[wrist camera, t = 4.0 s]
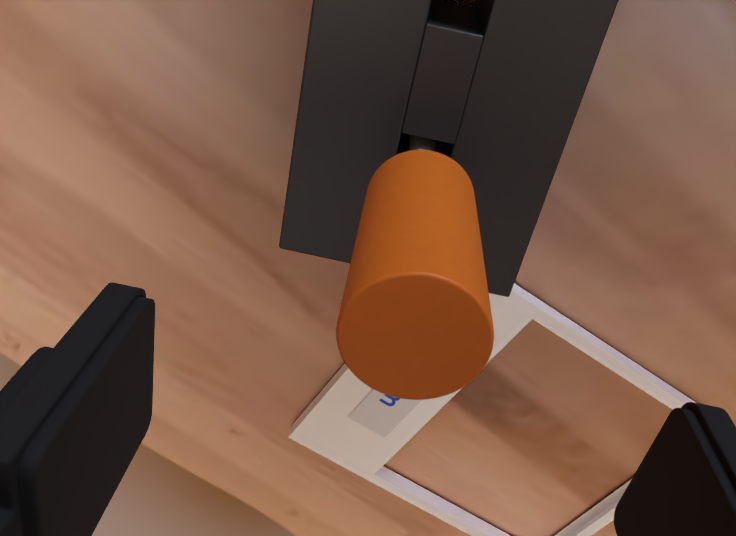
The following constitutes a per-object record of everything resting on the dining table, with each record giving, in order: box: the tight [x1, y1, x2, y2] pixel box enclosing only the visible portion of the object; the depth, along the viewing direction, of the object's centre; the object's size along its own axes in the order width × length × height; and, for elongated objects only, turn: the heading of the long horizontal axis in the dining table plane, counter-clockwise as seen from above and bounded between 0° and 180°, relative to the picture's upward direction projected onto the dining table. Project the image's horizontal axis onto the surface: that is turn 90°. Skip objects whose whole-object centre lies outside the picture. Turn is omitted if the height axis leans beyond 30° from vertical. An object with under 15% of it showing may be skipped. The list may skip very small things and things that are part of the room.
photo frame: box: [288, 283, 696, 536], centre depth 34 cm, size 15×1×18 cm
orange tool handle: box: [336, 135, 494, 400], centre depth 20 cm, size 3×3×16 cm
